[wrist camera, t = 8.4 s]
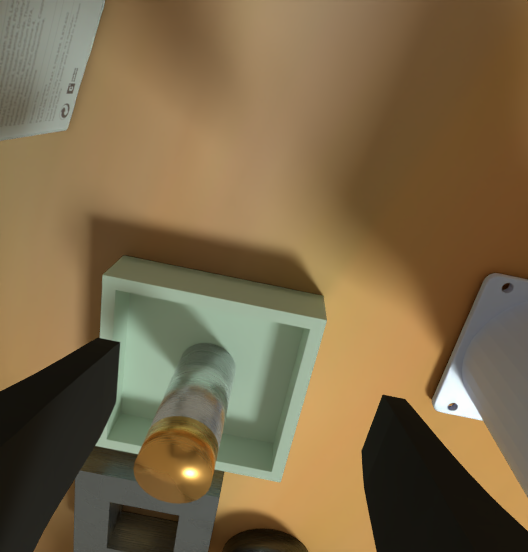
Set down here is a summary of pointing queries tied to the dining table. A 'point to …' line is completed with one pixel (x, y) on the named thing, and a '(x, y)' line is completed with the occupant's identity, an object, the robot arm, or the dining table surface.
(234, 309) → the tray
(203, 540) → the block
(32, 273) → the dining table surface
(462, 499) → the robot arm
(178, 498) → the pin
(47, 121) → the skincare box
